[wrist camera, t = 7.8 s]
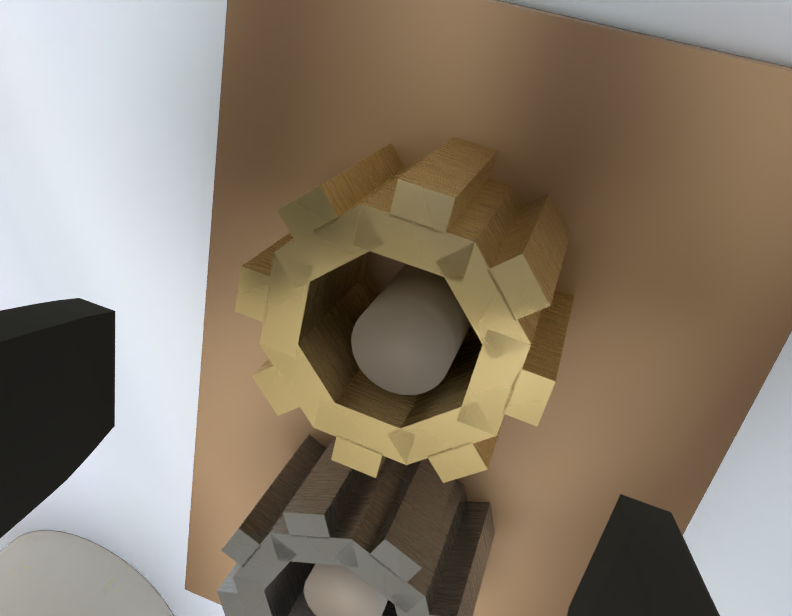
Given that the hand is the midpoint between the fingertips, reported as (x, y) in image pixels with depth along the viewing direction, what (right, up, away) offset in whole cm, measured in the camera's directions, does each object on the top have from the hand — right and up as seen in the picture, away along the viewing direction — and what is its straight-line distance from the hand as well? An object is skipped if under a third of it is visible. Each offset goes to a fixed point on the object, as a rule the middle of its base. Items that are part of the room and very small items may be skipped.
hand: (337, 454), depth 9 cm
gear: (+1, -3, +8) cm, 9 cm away
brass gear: (+2, +3, +5) cm, 6 cm away
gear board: (+2, 0, +8) cm, 8 cm away
